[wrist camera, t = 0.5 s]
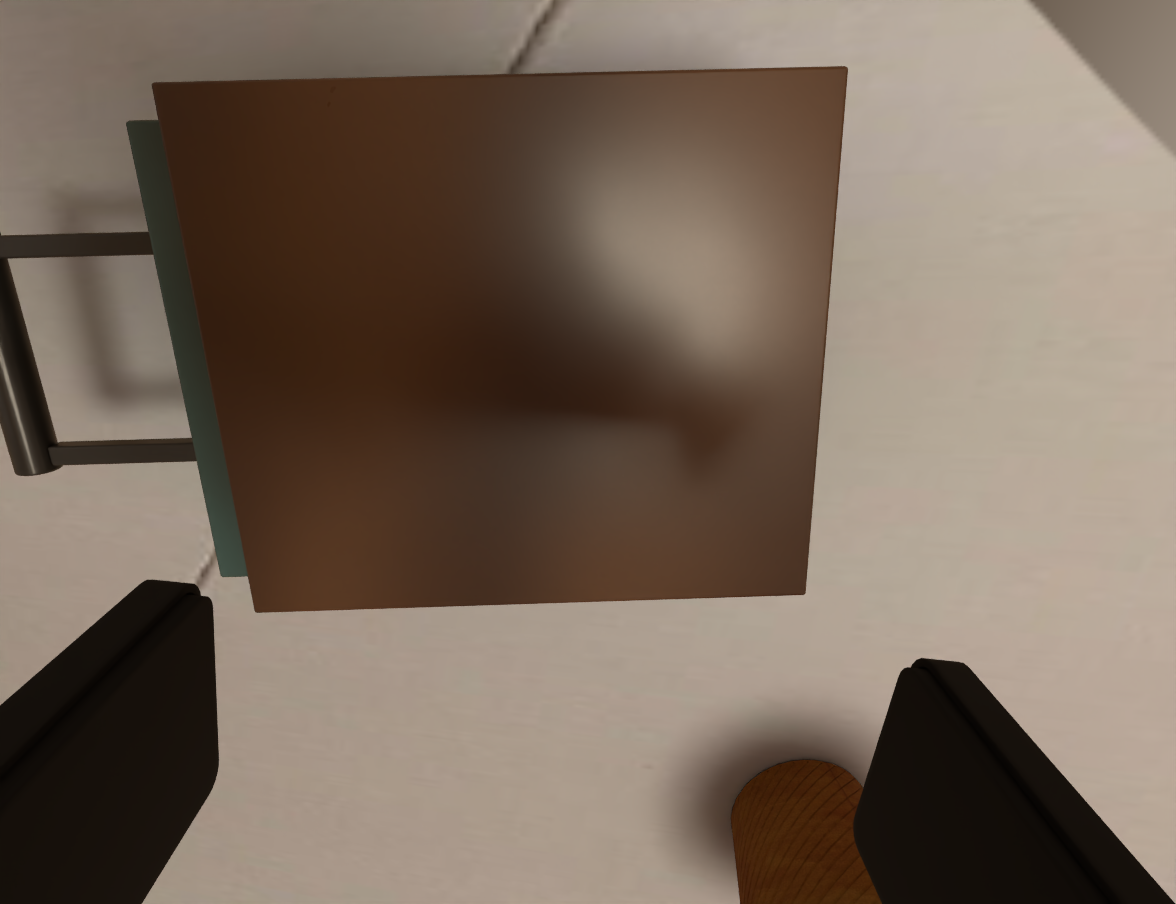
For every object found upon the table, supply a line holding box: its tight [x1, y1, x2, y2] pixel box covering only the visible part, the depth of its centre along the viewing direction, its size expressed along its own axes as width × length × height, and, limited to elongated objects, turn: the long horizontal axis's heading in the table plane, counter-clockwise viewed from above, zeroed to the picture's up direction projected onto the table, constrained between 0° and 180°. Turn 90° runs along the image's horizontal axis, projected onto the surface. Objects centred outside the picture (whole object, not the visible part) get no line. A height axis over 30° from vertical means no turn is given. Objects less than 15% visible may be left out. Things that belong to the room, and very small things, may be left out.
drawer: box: [0, 120, 248, 577], centre depth 21 cm, size 21×11×7 cm, turn 91°
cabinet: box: [152, 66, 848, 613], centre depth 21 cm, size 15×13×9 cm
